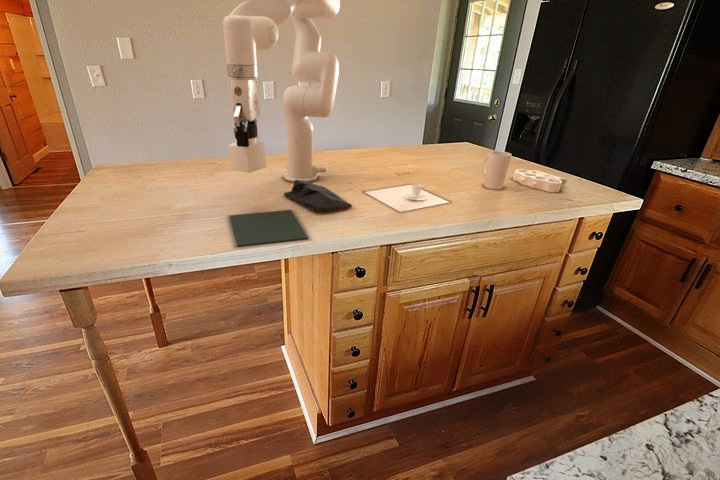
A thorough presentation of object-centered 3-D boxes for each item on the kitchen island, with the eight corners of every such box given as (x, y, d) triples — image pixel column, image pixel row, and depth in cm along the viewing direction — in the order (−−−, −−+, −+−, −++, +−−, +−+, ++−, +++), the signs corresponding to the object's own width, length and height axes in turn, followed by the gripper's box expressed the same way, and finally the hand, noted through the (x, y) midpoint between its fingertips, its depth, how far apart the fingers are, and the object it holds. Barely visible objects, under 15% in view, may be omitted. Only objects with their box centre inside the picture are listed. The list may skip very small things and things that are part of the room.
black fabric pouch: (312, 217, 114) (312, 201, 111) (281, 194, 130) (280, 180, 128) (356, 208, 120) (357, 193, 118) (321, 188, 137) (321, 174, 135)
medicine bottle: (267, 167, 113) (262, 123, 107) (249, 173, 108) (244, 127, 102) (249, 164, 117) (244, 122, 111) (231, 169, 112) (225, 125, 106)
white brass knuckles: (573, 188, 141) (546, 194, 135) (530, 175, 155) (504, 179, 149) (576, 179, 140) (549, 184, 134) (532, 167, 154) (506, 171, 148)
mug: (507, 188, 140) (516, 154, 134) (493, 190, 138) (502, 156, 132) (485, 180, 148) (493, 148, 142) (472, 182, 146) (479, 150, 140)
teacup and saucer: (411, 203, 125) (413, 191, 123) (396, 195, 131) (397, 184, 129) (432, 199, 129) (434, 187, 127) (416, 192, 135) (418, 180, 133)
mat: (290, 211, 118) (290, 209, 118) (307, 238, 101) (307, 237, 101) (230, 216, 113) (229, 215, 113) (237, 246, 97) (237, 245, 96)
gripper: (247, 75, 92) (252, 150, 101) (265, 70, 107) (268, 136, 116) (216, 74, 93) (224, 149, 102) (238, 70, 108) (243, 135, 117)
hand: (247, 142), depth 109 cm, fingers closed on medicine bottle, 8 cm apart
